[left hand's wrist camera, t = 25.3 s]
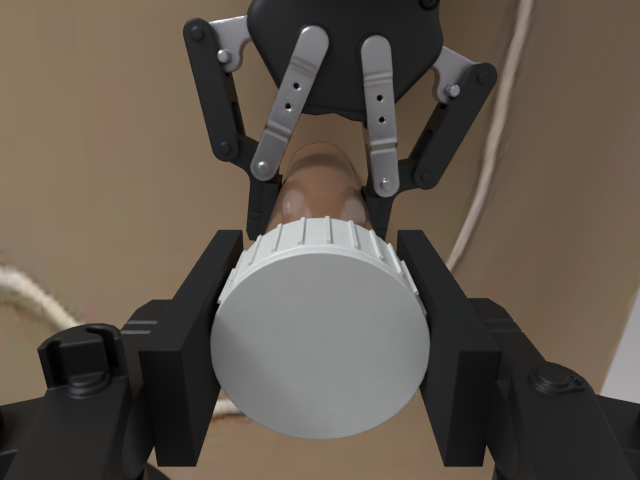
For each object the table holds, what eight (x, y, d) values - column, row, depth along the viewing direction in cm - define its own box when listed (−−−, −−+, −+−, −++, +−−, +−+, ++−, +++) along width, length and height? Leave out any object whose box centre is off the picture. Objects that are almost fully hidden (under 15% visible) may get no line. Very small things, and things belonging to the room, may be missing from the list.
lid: (333, 407, 13) (336, 474, 11) (191, 315, 12) (162, 369, 10) (451, 290, 12) (482, 339, 10) (303, 174, 11) (299, 199, 9)
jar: (290, 209, 28) (247, 399, 12) (284, 145, 27) (225, 255, 10) (354, 205, 28) (404, 390, 12) (351, 140, 27) (403, 243, 10)
